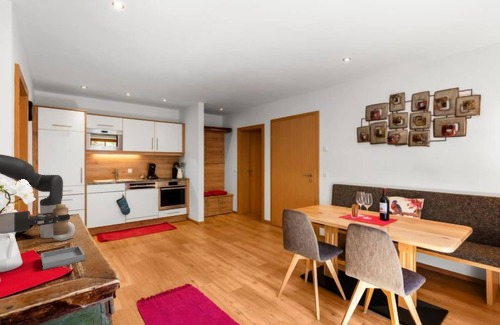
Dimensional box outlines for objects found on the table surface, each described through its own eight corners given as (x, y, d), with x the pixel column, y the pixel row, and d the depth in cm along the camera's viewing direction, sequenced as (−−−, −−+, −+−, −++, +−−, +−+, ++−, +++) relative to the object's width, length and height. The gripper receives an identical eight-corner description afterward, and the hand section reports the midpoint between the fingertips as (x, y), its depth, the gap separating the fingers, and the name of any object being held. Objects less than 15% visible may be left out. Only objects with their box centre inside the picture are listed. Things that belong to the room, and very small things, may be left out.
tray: (41, 259, 105) (41, 253, 105) (79, 251, 114) (79, 245, 114) (43, 270, 95) (42, 263, 95) (85, 260, 104) (85, 254, 103)
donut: (74, 237, 134) (74, 218, 134) (75, 239, 131) (75, 220, 131) (51, 241, 128) (50, 222, 128) (51, 243, 125) (50, 223, 125)
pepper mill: (52, 233, 104) (52, 204, 104) (67, 231, 108) (67, 203, 108) (53, 236, 101) (53, 206, 100) (69, 233, 104) (68, 204, 104)
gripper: (12, 215, 89) (71, 209, 100) (14, 209, 100) (66, 204, 111) (12, 236, 89) (71, 228, 101) (14, 228, 100) (67, 221, 111)
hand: (68, 215), depth 106 cm, fingers closed on pepper mill, 5 cm apart
